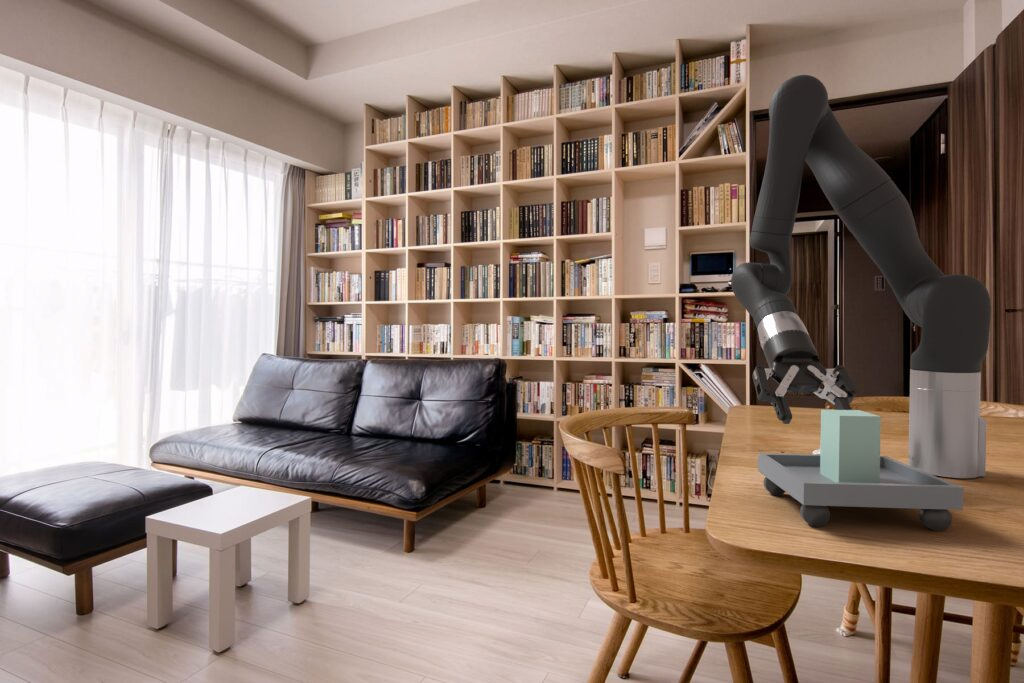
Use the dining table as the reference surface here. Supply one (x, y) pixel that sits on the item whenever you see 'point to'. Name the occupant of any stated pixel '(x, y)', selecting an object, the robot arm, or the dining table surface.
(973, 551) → the dining table surface
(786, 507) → the dining table surface
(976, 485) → the dining table surface
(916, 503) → the grey shallow tray
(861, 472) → the sage part block
